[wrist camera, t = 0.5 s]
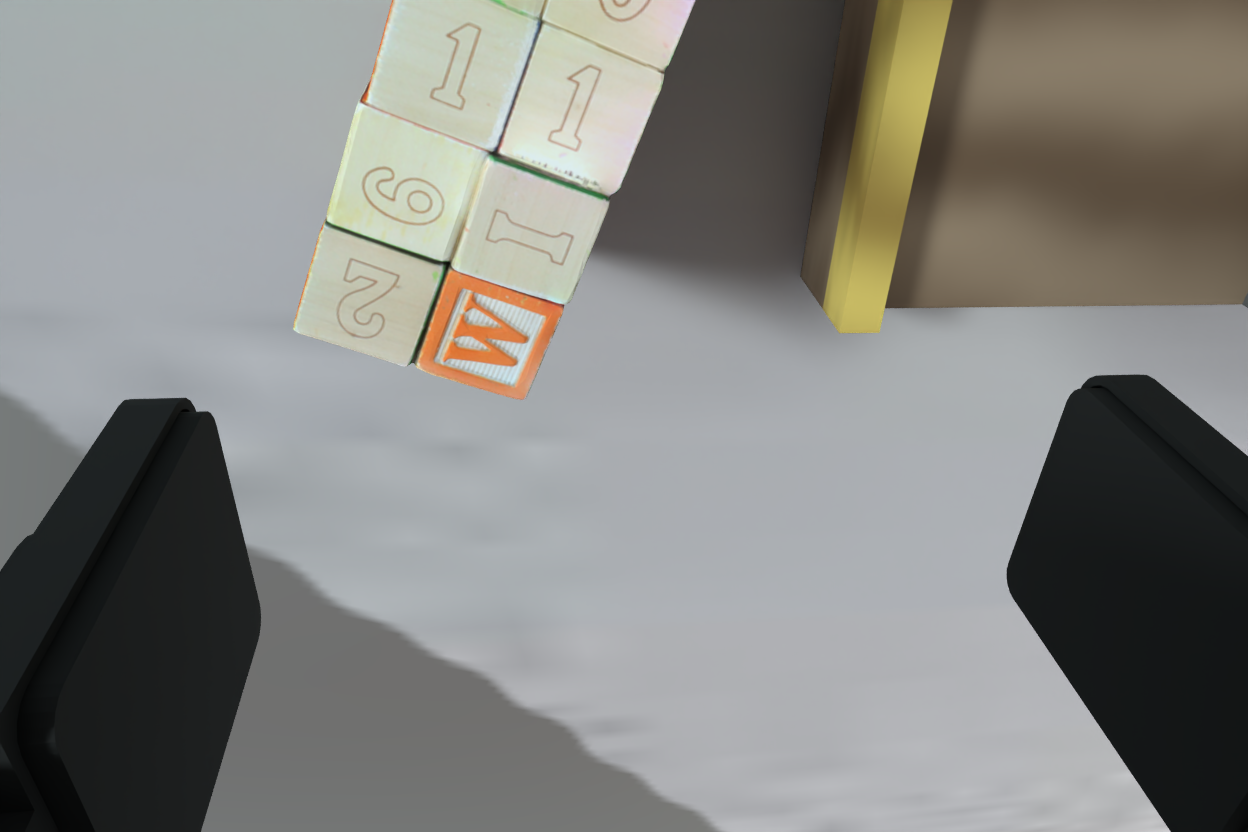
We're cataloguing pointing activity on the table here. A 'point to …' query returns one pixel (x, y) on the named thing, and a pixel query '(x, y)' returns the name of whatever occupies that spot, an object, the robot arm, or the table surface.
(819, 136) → the table surface
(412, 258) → the stack of blocks
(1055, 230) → the dock
